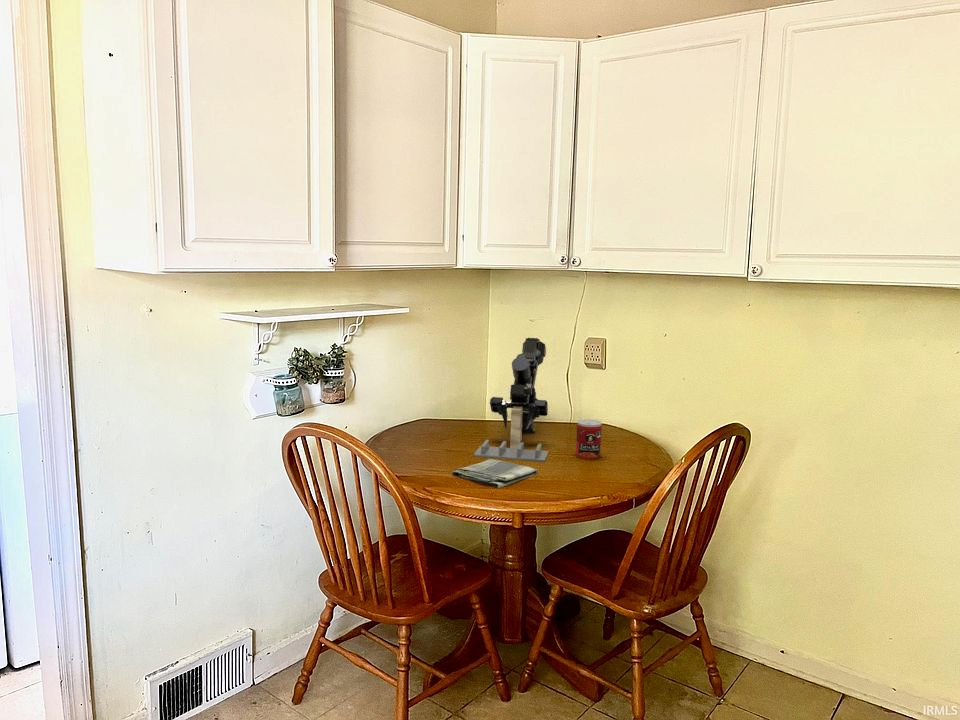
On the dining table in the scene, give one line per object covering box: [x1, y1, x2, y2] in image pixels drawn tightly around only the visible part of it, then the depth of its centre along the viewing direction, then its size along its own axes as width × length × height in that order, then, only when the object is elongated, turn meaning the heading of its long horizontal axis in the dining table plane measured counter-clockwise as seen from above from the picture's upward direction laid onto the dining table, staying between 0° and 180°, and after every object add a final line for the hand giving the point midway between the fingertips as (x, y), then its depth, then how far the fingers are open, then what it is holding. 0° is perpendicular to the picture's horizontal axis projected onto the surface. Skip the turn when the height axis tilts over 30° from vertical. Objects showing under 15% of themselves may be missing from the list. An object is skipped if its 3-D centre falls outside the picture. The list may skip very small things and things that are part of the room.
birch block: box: [509, 406, 523, 449], centre depth 235 cm, size 4×3×13 cm, turn 169°
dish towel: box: [451, 458, 539, 489], centre depth 207 cm, size 19×18×3 cm
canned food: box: [575, 418, 603, 460], centre depth 227 cm, size 8×8×11 cm
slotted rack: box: [473, 439, 549, 463], centre depth 227 cm, size 10×22×3 cm, turn 79°
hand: (515, 428), depth 233 cm, fingers open, 6 cm apart
